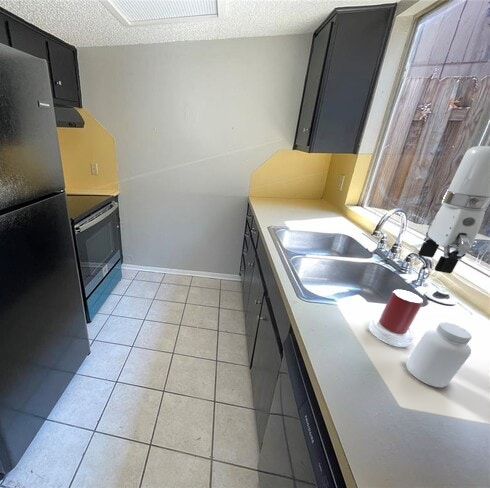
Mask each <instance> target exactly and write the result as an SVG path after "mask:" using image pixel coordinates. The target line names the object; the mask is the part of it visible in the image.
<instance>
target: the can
mask: <svg viewBox="0 0 490 488" xmlns="http://www.w3.org/2000/svg"><path fill="white" fill-rule="evenodd" d="M423 304H424V300H423V299H422V298H421V297H420V296H419V295H417V294H415V293H413V292H411V291H407V290H403V289H394V290H393V291H392V292H391V295H390V297H389V299H388V301H387V302H386V304H385V307H384V309H383V311H382V313H381V315H380V316H381V317H380V319H379V323H380V324H381V325H382V326H383V327H384V328H386V329H388V330H390V331H392V332H395V333H400V334H404V333H406V332H407V331H408V329H410V327H411V325H412V324H413V322H414V320H415V318H416V316H417V315H418V314H419V311H420V309H421V308H422V306H423Z"/></svg>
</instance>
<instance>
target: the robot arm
mask: <svg viewBox="0 0 490 488" xmlns="http://www.w3.org/2000/svg"><path fill="white" fill-rule="evenodd" d="M440 204H441V206H440V208H439V209H438V211H437V213H436V215H435V217H434V218H433V220H432V222H431V223H430V224H428V229H427V232H426V233H425V237H424V239H423V243H422V244H421V247H420V249H419V250H418V253H417V255H418V256H419V257H426V258H434V256H435V254H436V252H437V251H438V248H439V247H441V248H443V255H441V256H440V257H439V259H438V261H437V263H436V265H435V266H434V268H433V270H434V271H436V272H440V273H445V274H452V273H453V271H454V269H455V268H456V266H457V264H458V262H459V261H461V260H462V259H463V257H465V256H466V255H467V253H468V252H470V251H471V249H472V245H473V244H474V242H475V240H476V237H477V235H478V233H479V231H480V229H481V227H482V224H483V221H484V218H485V215H486V211H487V209H488V207H489V206H490V145H476V146H472V147H470V148H468V149H467V150H466V151H465V154H464V155H463V157H462V159H461V162H460V163H459V166H458V168H457V170H456V172H455V174H454V176H453V178H452V180H451V182H450V184H449V187H448V188H447V191H446V192H445V195H444V196H443V199H442V201H441V203H440ZM451 250H452V251H451Z"/></svg>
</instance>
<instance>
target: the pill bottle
mask: <svg viewBox="0 0 490 488" xmlns="http://www.w3.org/2000/svg"><path fill="white" fill-rule="evenodd" d="M471 339H472V334H471V333H470V332H469V331H468V330H466V329H465V328H464V327H461V326H459V325H457V324H455V323H451V322H440V323H439V324H438V325H437V327H436V328H431V329H428V330H426V331H425V332H424V333H423V335H422V336H421V338H420V339H419V341H418V343H417V345H416V346H415V348H414V349H413V351H412V352H411V354H410V356H409V357H408V359H407V360H406V364H405V366H406V369H407V371H408V372H409V373H410V374H411V375H412V376H414V377H415V378H416V379H417V380H418V381H420V382H422V383H424V384H425V385H429V386H430V387H434V388H445V387H447V386H448V385H449V384H450V382H451V381H452V380H453V378H454V377H455V376H456V375H457V374H458V372H459V370H460V369H461V368H462V367H463V365H464V364H465V362H466V361H467V360H468V358H469V357H471V354H472V349H471V346H470V345H469V342H470V341H471Z"/></svg>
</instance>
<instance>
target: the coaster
mask: <svg viewBox="0 0 490 488" xmlns="http://www.w3.org/2000/svg"><path fill="white" fill-rule="evenodd" d="M380 317H381V315H379V316H378V315H376V316H374V317H372V318H371V321H370V323H369V324H368V330H369V331H370V333H371V334H372V335H373V337H375V338H376V339H378V340H379V341H381V342H383V343H385V344H388V345H389V346H393V347H396V348H397V347H398V348H406V347H409V346H410V345H411V343H412V341H413V340H414V338H415V334H414V332H413V331H412V330H411V328H409V329H408V331H407V332H406V333H404V334H400V333H395V332H392V331H390V330H388V329H386V328H384V327H383V326H382V325H381V324H380V323H379V319H380Z"/></svg>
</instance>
